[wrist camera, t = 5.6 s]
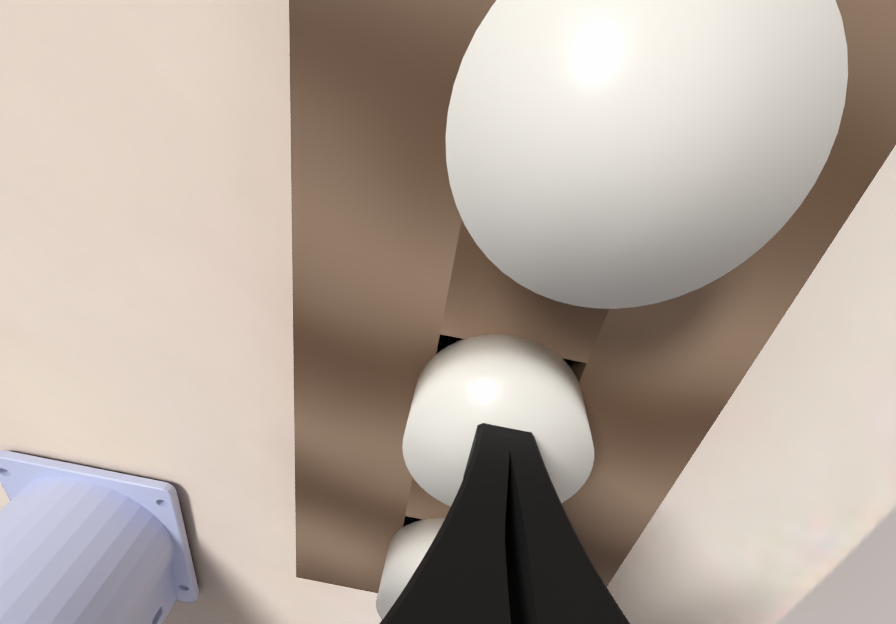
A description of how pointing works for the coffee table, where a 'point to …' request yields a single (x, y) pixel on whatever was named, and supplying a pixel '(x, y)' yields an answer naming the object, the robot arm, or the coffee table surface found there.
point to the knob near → (640, 138)
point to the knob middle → (496, 411)
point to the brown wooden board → (500, 285)
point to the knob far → (404, 559)
